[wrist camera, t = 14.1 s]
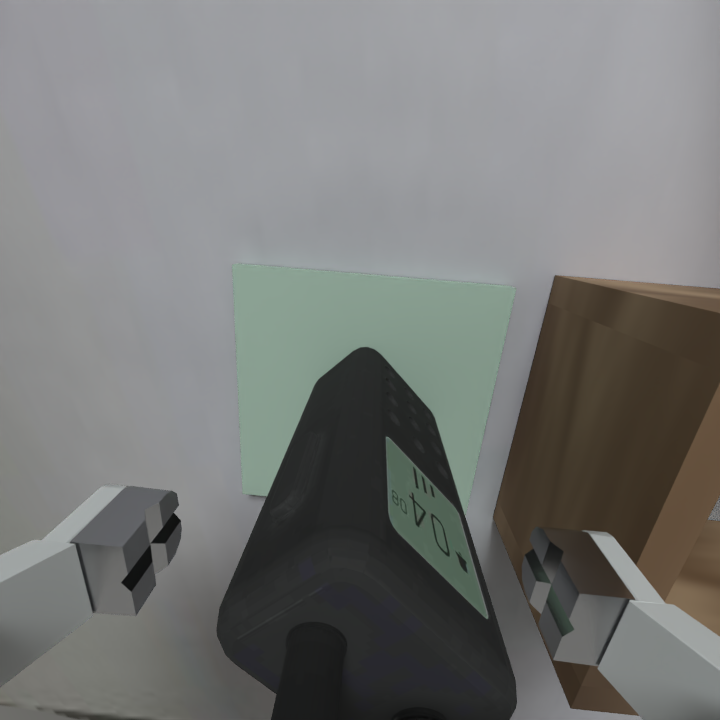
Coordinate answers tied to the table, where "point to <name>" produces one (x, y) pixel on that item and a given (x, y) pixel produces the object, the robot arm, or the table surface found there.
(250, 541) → the walkie-talkie
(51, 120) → the table surface
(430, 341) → the place mat
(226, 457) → the table surface
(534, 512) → the access box
